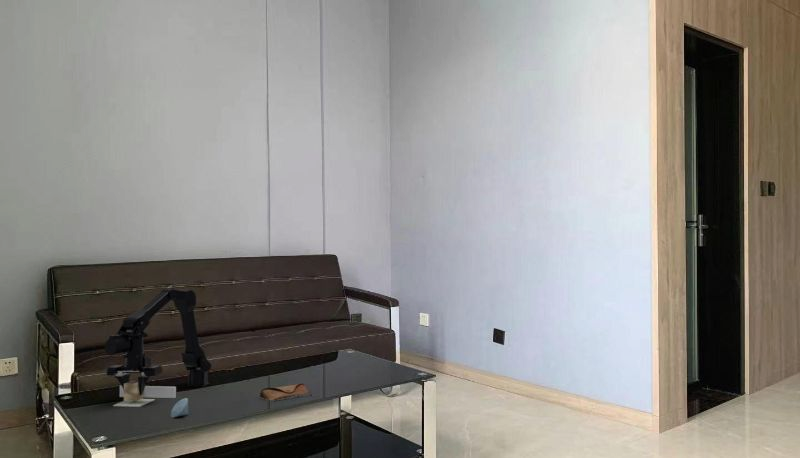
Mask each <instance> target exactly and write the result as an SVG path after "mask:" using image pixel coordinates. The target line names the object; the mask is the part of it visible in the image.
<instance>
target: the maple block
mask: <svg viewBox="0 0 800 458" xmlns="http://www.w3.org/2000/svg"><path fill="white" fill-rule="evenodd" d="M144 396H145V388H144V391H143V394H142V395H140V393H139V383H138V380H129V382H126V383H124V397H123V401H125V400H127V401H137V400H140V399H145V397H144Z"/></svg>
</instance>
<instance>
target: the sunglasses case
mask: <svg viewBox="0 0 800 458" xmlns="http://www.w3.org/2000/svg"><path fill="white" fill-rule="evenodd" d="M308 392H309V390H308V389H307V388H306V385H305V384H304V383H297V384H292V385H283V386H277V387H266V388H263V389H262V390H260V394H259V395H260V396H259V397H262V398H264V399H267V400H277V399H281V398H287V397H291V396H295V395H300V394H304V393H308Z"/></svg>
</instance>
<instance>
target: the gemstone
mask: <svg viewBox="0 0 800 458" xmlns="http://www.w3.org/2000/svg"><path fill="white" fill-rule="evenodd" d="M188 415H189V399H188V398H187V397H185V398H182V399H180V400H178V401H177V402H176V403H175V404H174V406H173V407H172V409H171V411H170V418H171V419H173V418H178V417H183V416H188Z"/></svg>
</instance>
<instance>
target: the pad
mask: <svg viewBox="0 0 800 458" xmlns="http://www.w3.org/2000/svg"><path fill="white" fill-rule="evenodd" d="M155 399H156V398H155ZM155 399H153V398H142V399H140V400H137V401H127V400H123V401H120V402H118V403H115V404H113V405H112V406H113V407H130V408H131V407H132V408H133V407H134V408H140V407H142V406H144V405H147V404H149V403H151V402H154V401H155Z"/></svg>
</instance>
